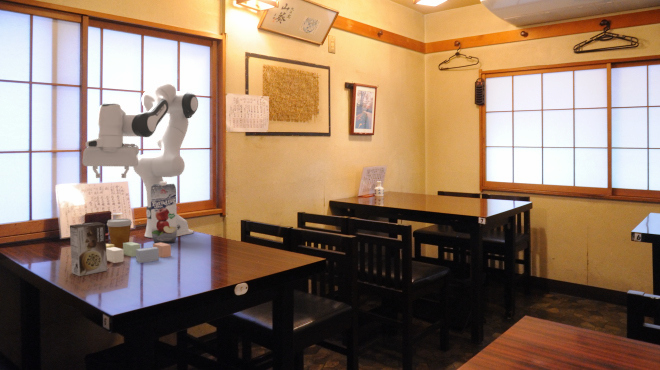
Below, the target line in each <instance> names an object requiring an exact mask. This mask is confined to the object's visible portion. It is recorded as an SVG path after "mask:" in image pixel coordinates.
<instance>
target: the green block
mask: <svg viewBox="0 0 660 370" xmlns="http://www.w3.org/2000/svg"><path fill="white" fill-rule="evenodd" d="M136 249H141V243H137V242H133V241H129V242H127V243H123V252H124V255H125V256H129V257H131V258H132V257H136Z"/></svg>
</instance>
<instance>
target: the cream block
mask: <svg viewBox="0 0 660 370" xmlns="http://www.w3.org/2000/svg"><path fill="white" fill-rule="evenodd" d="M106 255H107V262H110V263H113V264H116V263H122V262H125V261H124V260H125V257H124V252H123V249H120V248H117V247H111V248H106Z"/></svg>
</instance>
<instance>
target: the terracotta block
mask: <svg viewBox="0 0 660 370" xmlns="http://www.w3.org/2000/svg"><path fill="white" fill-rule="evenodd" d="M152 247H156V248H159V258H167V257H172V248H171V247H172V245H171V244H170V243H152Z"/></svg>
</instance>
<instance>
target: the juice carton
mask: <svg viewBox="0 0 660 370" xmlns="http://www.w3.org/2000/svg"><path fill="white" fill-rule="evenodd" d="M176 206H177V188H176V185H175V184H174V183H167V181H164V180H163V181H162V182H160V184H153V185H152V187H151V227H152V238H151V239H152V240H153V241H152V242H153V244H155V243H165V244H172V243H175V242H176V239H177V236H176V235H177V214H178V213H177V212H178V211H177V207H176Z"/></svg>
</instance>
